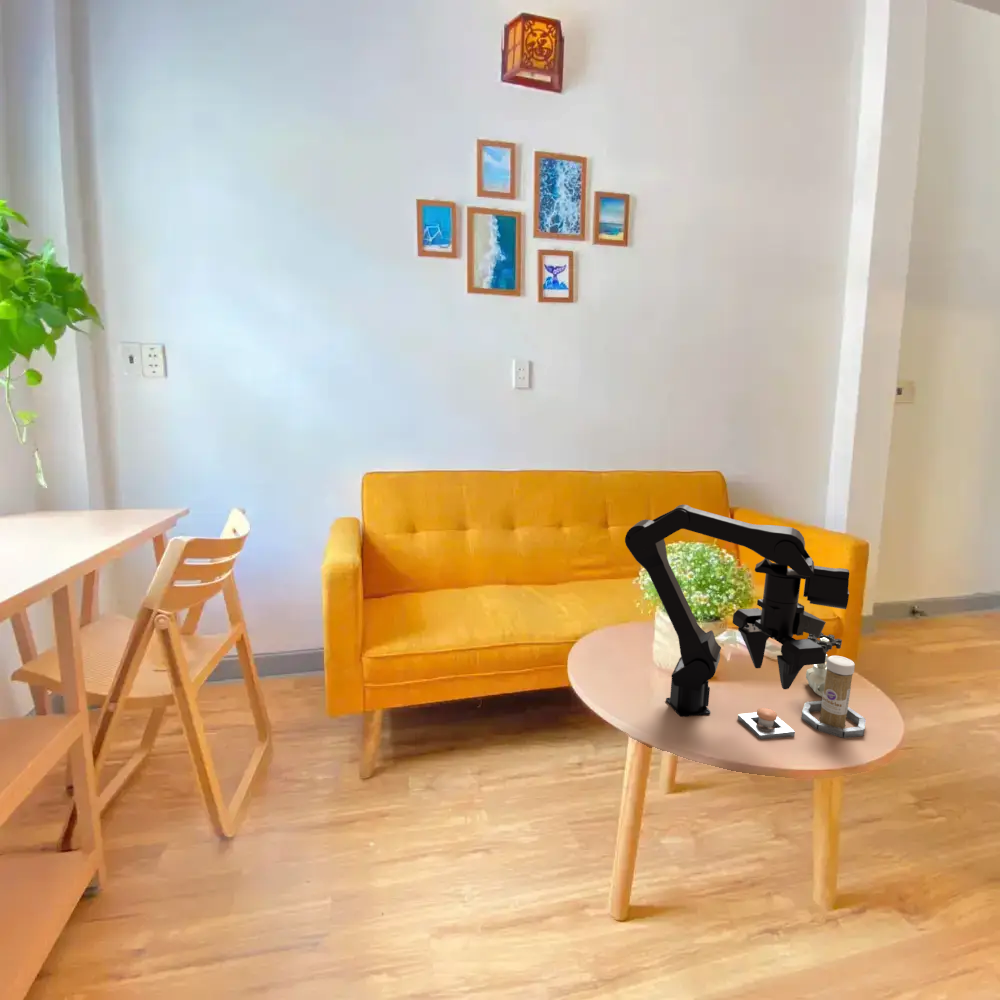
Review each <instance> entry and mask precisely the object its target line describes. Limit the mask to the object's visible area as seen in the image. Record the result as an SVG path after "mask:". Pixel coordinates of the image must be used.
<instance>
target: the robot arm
mask: <svg viewBox="0 0 1000 1000" xmlns="http://www.w3.org/2000/svg"><path fill="white" fill-rule="evenodd" d="M681 530H687V531H690V532H694V533H696V534H700V535H703V536H707V537H710V538H713V539H714V538H715V539H716V540H721V541H724V542H728V543H732V544H735V545H738V546H742V547H744V548H747V549H749V550H751V551H753V552H754V553H756V554H757V555H759V556H761V557H763V560H761V561H759V562H757V563H756V564H755V567H754V572H755V573H760V574H765V577H764V587H763V596H762V599H761V598H760V599H757V603H756V606H759V607H760V608H761V609H760V608H758V607H754V608H741V609H740V608H739V609H737V610H736V611H735V612H733V615H732V623H731V624H733V625H734V626H736V627H737V631H738V632H739V633H740V635H741V637H742V639H743V641H744V644H745V646H746V649H747V651H748V654H749V656H750V658H751V661H752V664H753V666H754V669H761V668H762V665H763V661H764V656H765V651H766V645H767V641H768V640H769V638H770V639H772V640H774V641H776V642H778V643H780V645H781V647H780V653H781V654H777V655H776V658H777V659H776V660H777V666H778V672H779V678H780V679H779V680H780V685H781V689H783V690H789V689H790V687H791V686H792V684H793V683H794V680H795V679H796V677H797V676H798V674H799V673H800V672H801V670H802V669H803V668H804V667H805V666H813V665H814V664H824V663H826V662H825V660H826V654H827V652H826V650H825V649H824V648H823V647H822V646H820V645H818V644H817V643H815V642H813V641H812V640H810V639H808V638H801V639H795V638H794V637H793V636H794V635H796V636H797V637H798V636H799V637H800V636H804V633H806V634H808V635H809V634H812V635H814V636H815V637H817V639H820V638H819V636H820V634H821V633H823V632H822V631H823V629H824V628H825V625H826V624H827V623H826V621H825V620H823V619H821V618H819V617H817V615H814V614H812V613H809V612H808V611H806V610H805V605H803V604H801V603H799V598H800V589H801V580H804V585H803V586H804V587H803V595H802V596H803V597H804V598H806V601H809V604H810V605H817V606H822V607H829V608H834V609H835V608H836V609H841V610H846V609H847V608H848V605H849V604H848V603H849V598H850V591H849V586H850V585H849V583H850V570H849V569H848V568H841V567H837V568H834V567H825V566H819V565H815V562H814V560H813V557H811V556H810V554H809V553H808V552H807V550H806V541H805V538H804V536H803V534H802V533H801V531H799V530H798V529H797V528H794V527H791V526H784V525H773V524H755V523H753V524H752V523H750V522H749V523H748V522H744V521H741V520H737V519H734V518H730V517H727V516H723V515H720V514H716V513H713V512H709V511H705V510H702V509H698V508H695V507H691V506H690V505H688V504H679V505H678V506H676V507H675V508H674V509H672V510H670V511H667V512H666V513H663V514H661V515H660V516H657V517H656V518H654V519H652V520H651V519H642V520H640V521H638V522H636V523H635V524H634V525H633V526H631V527H630V528H629V529H628V530H627V532H626V535H625V537H624V542H625V546H626V547H627V549H628V551H629V552H630V554H631V555H632V557H633V558H634V559H635V561H636V562H637V563H638V564H639V565H640V566H641V567H642V568H644V569H645V571H646V572H647V574H648V575H649V578H650V581H651V582H652V585H653V586H654V588H655V591H656V593H657V596H658V597H659V599H660V602H661V603H662V605H663V607H664V610H665V612H666V614H667V616H668V619H669V621H670V622H671V624H672V626H673V629H674V631H675V633H676V635H677V639H678V645H679V651H680V657H679V658H678V661H677V663H676V665H675V667H674V670H673V671H672V674H671V683H670V695H669V697H666V698H665V701H666V703H667V704H668V705H669V707H671V709H673V711H674V712H676V714H677V715H678V716H679V717H682V718H684V717H696V716H705V715H711V710H710V709H709V708H708V706H709V703H710V702H709V701H710V692H711V691H710V690H711V688H710V686H709V683H710V682H709V680H711V679H713V677H714V676H715V674H716V672H717V669H718V666H719V663H720V659H721V653H720V652H721V650H722V646H721V645H719V643H718V642H717V640H716V636H715V633H714V631H713V630H709V631H707V632H706V631H704V630H703V629H702V628H701V626H700V625H699V624H698V621H697V619H696V617H695V615H694V613H693V610H692V609H691V606H690V605H689V603H688V601H687V598H686V596H685V594H684V592H683V590H682V588H681V586H680V584H679V582H678V580H677V577H676V575H675V573H674V571H673V569H672V567H671V565H670V563H669V559H668V554H667V546H666V541H665V539H667V538H668V537H669V536H671V535H673V534H675V533H677V532H679V531H681Z"/></svg>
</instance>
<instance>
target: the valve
mask: <svg viewBox="0 0 1000 1000" xmlns="http://www.w3.org/2000/svg"><path fill="white" fill-rule="evenodd" d="M807 639H810V640H812V641H813V642H815V643H817V644H818V645H820V646H822V647H823V648H824V649H825V650H826V660H825V663H824V664H814V665H812V667H811V668H808V669H806V673H805V679H806V680H807V682H808V686H809V687H810V688H811V689H812V690H813V692H814V693H815V694H817V695H818V696H820V697H821V698H822V697H823V691H824V685H825V679H826V672H827V667H826V664H827V659H828V657H829V655H828V654H827V653H828V652H829V651H830V650H832V649H833V647H834V646H835V649H840V650H841V649H842V642H843V640H842V639H841V638H835V635H834V634H828V635H826V634H824V633H823V632H821V634H820V636H819V638H817V637H815V636H814V635H812V634H808V636H807Z"/></svg>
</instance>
